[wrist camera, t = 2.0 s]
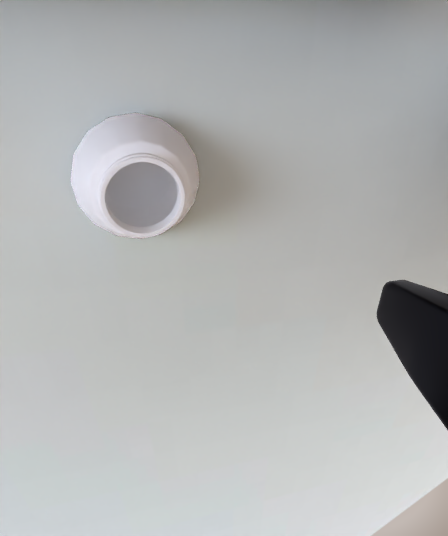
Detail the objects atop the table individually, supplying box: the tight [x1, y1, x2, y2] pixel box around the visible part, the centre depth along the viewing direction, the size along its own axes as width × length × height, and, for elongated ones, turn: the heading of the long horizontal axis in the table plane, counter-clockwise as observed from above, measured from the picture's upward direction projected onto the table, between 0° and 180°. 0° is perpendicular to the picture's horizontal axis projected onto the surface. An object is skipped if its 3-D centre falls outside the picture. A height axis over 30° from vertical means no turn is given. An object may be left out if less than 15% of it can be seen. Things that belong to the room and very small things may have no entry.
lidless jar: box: [71, 113, 200, 239], centre depth 16 cm, size 5×3×5 cm
